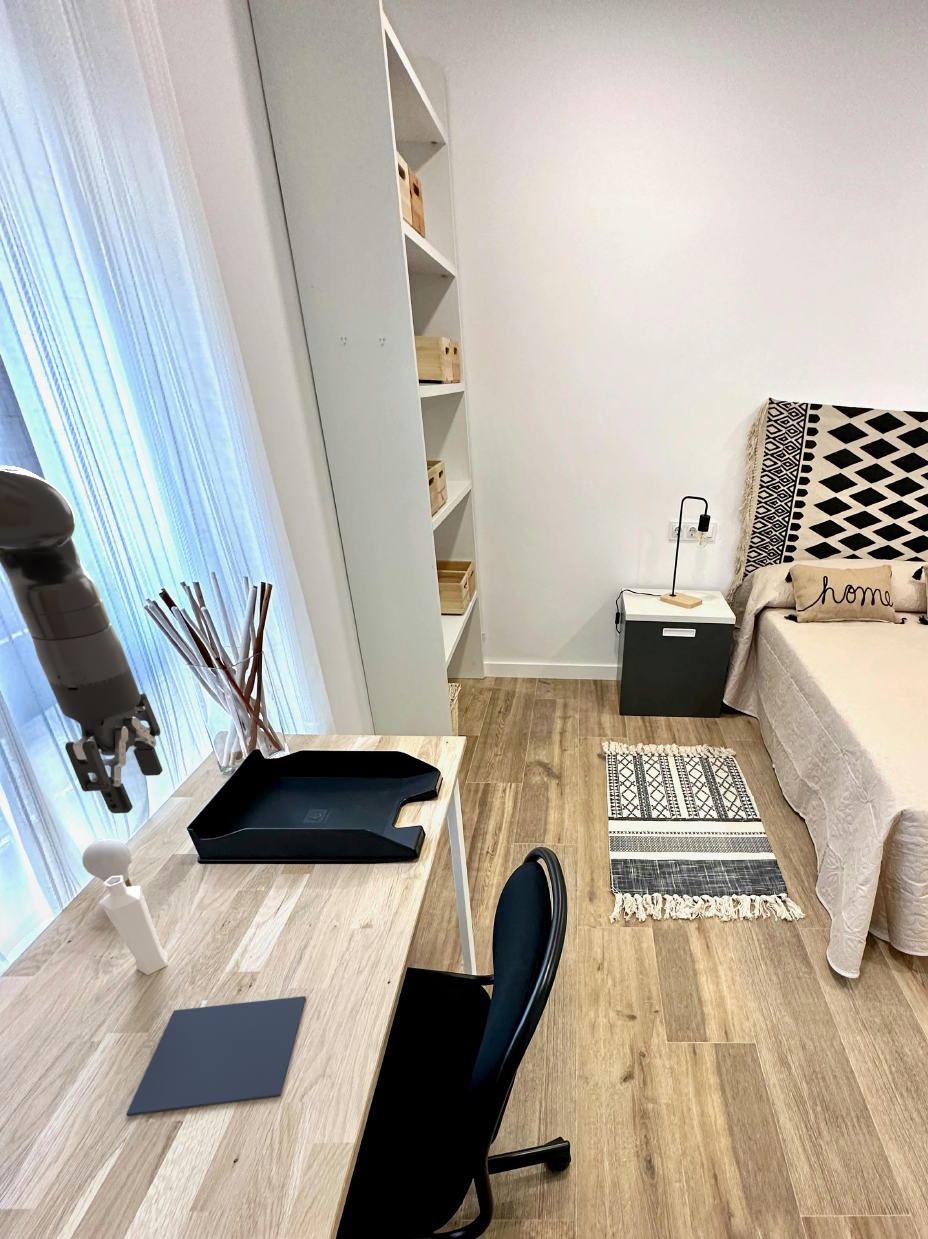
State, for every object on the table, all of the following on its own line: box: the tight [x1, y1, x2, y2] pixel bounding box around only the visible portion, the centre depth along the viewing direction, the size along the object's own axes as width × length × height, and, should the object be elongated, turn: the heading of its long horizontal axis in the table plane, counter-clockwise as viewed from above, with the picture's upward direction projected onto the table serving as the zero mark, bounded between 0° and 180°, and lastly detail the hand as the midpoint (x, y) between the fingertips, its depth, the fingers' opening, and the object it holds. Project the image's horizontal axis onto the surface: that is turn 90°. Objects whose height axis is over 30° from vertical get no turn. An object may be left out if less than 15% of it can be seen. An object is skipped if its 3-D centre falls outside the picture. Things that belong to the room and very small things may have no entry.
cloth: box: [125, 995, 307, 1117], centre depth 79 cm, size 16×14×1 cm
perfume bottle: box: [99, 875, 169, 976], centre depth 86 cm, size 5×4×15 cm
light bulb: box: [81, 838, 133, 887], centre depth 99 cm, size 6×6×10 cm
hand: (138, 792), depth 80 cm, fingers open, 8 cm apart
